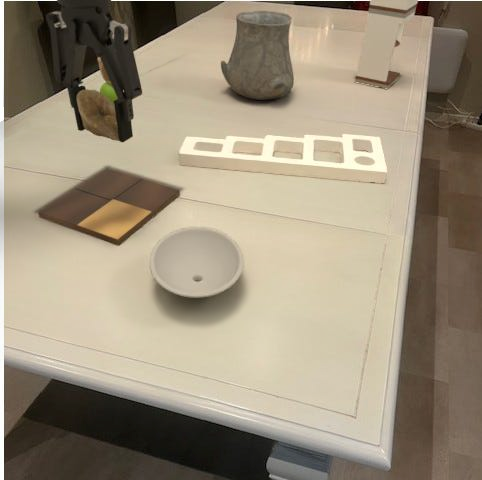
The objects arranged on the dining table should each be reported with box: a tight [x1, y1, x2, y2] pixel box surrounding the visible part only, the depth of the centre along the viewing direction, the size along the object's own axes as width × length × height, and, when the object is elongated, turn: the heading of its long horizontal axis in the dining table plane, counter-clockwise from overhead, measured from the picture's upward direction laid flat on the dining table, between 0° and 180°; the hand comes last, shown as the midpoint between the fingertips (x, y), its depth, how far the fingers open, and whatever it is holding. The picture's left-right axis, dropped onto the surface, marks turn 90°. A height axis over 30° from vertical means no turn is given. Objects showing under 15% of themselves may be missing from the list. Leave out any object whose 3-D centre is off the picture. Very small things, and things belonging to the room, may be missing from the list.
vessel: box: [220, 10, 295, 101], centre depth 133 cm, size 22×22×20 cm
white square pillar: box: [354, 0, 419, 90], centre depth 141 cm, size 11×11×35 cm
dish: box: [148, 225, 245, 299], centre depth 75 cm, size 18×14×5 cm
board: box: [37, 167, 181, 246], centre depth 92 cm, size 18×20×1 cm
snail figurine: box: [96, 55, 118, 104], centre depth 127 cm, size 5×6×12 cm
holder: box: [178, 133, 388, 184], centre depth 111 cm, size 45×18×3 cm, turn 83°
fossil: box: [77, 89, 119, 142], centre depth 80 cm, size 9×4×10 cm
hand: (105, 133), depth 81 cm, fingers closed on fossil, 8 cm apart
